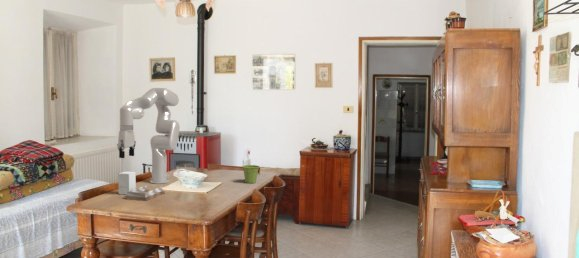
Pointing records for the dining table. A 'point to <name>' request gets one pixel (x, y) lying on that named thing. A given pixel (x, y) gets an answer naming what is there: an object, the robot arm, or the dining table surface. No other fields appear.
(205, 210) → the dining table surface
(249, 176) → the plant pot
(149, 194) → the board
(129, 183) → the supplement box
